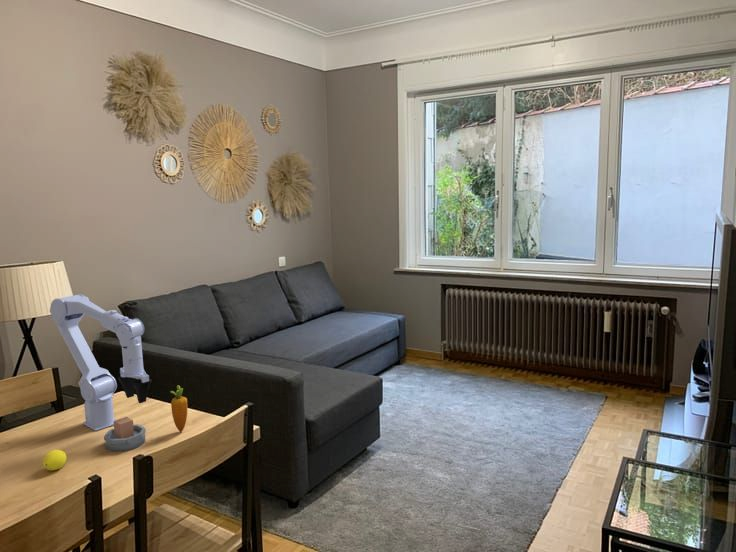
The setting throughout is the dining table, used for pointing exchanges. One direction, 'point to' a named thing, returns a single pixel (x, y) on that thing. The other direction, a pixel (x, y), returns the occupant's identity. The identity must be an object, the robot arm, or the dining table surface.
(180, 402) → the carrot
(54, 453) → the lemon
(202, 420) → the dining table surface
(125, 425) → the block
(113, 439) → the grey ashtray
